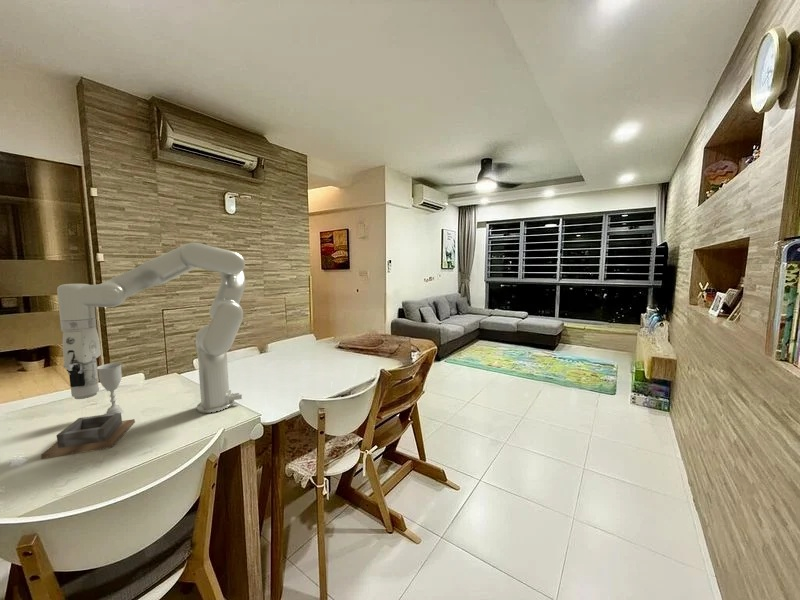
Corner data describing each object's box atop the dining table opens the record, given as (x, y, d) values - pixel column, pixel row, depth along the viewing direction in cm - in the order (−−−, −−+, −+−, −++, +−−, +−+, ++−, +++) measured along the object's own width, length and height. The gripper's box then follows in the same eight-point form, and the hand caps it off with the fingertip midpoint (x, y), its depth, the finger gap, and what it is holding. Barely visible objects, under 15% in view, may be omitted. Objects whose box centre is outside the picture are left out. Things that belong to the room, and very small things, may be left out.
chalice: (111, 418, 113) (105, 369, 111) (96, 416, 115) (90, 368, 112) (132, 409, 120) (127, 363, 118) (117, 407, 122) (112, 362, 120)
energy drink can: (92, 390, 102) (88, 345, 101) (103, 393, 100) (99, 347, 98) (67, 398, 97) (62, 350, 95) (78, 401, 95) (73, 352, 93)
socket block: (134, 422, 111) (133, 408, 110) (111, 447, 96) (110, 431, 95) (75, 430, 105) (73, 415, 104) (41, 458, 90) (38, 441, 90)
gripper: (77, 329, 89) (83, 391, 91) (109, 319, 105) (113, 372, 107) (42, 331, 87) (49, 394, 89) (79, 320, 103) (85, 374, 105)
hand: (84, 381), depth 98 cm, fingers closed on energy drink can, 6 cm apart
